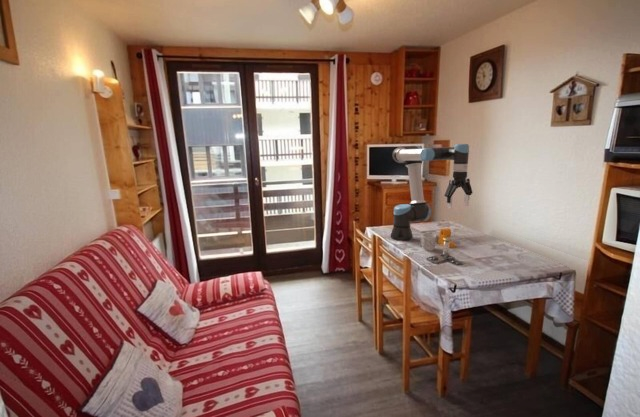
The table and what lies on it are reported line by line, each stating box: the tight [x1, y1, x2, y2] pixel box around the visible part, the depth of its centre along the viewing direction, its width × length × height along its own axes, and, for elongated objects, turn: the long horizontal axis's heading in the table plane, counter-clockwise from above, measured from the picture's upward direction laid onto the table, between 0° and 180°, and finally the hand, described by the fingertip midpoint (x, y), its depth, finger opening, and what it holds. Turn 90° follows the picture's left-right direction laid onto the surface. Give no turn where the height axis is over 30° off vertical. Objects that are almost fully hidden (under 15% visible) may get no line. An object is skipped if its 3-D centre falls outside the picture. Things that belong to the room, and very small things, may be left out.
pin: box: [442, 237, 452, 258], centre depth 183 cm, size 4×4×13 cm
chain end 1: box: [426, 253, 456, 265], centre depth 182 cm, size 15×7×2 cm, turn 115°
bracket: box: [437, 228, 457, 248], centre depth 206 cm, size 11×7×12 cm, turn 3°
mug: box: [420, 233, 437, 252], centre depth 201 cm, size 11×8×10 cm
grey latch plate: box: [445, 258, 467, 267], centre depth 181 cm, size 15×7×2 cm, turn 25°
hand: (457, 207), depth 189 cm, fingers open, 13 cm apart
